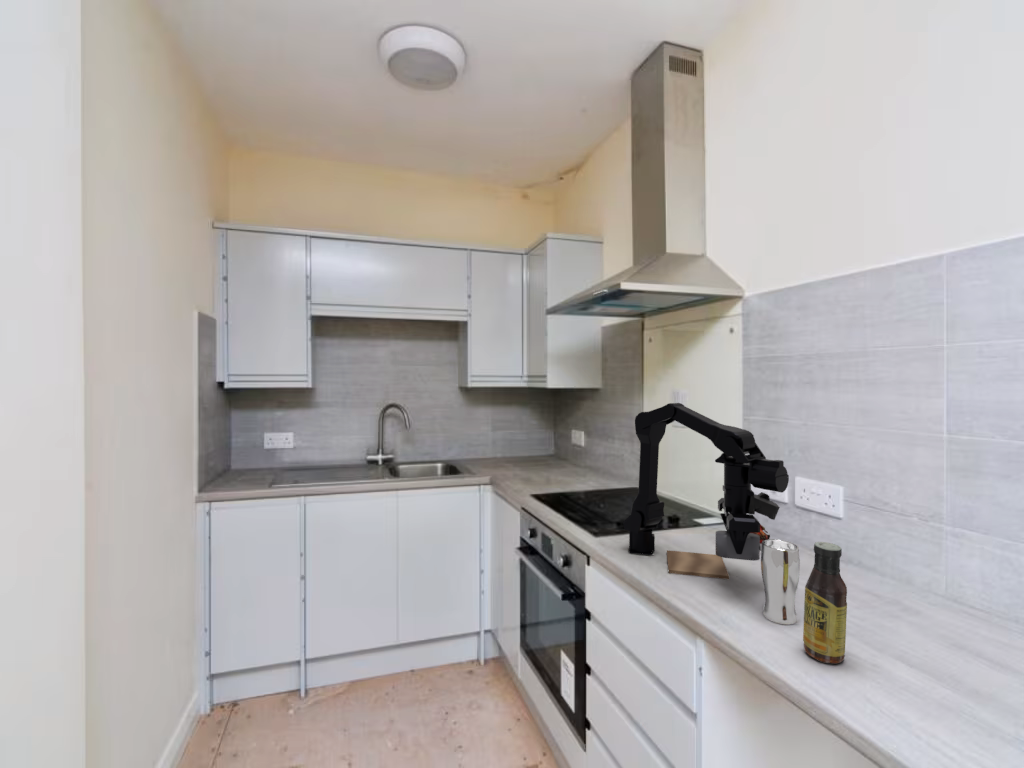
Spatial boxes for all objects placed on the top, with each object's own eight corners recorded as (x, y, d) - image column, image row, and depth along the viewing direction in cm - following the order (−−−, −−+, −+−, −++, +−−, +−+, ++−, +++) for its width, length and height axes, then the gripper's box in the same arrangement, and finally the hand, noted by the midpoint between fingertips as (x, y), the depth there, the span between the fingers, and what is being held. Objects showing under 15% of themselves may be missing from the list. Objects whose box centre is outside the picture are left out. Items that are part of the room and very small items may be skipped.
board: (668, 573, 120) (668, 569, 120) (666, 553, 133) (666, 550, 133) (729, 579, 116) (729, 576, 116) (720, 558, 130) (720, 555, 130)
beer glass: (795, 612, 100) (795, 540, 100) (803, 628, 93) (803, 552, 93) (758, 606, 102) (758, 537, 102) (763, 622, 96) (764, 548, 95)
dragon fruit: (738, 541, 147) (763, 561, 135) (719, 527, 146) (742, 546, 134) (756, 519, 147) (782, 538, 135) (736, 505, 145) (762, 522, 133)
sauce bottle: (795, 646, 87) (795, 538, 87) (827, 644, 88) (828, 537, 87) (821, 668, 81) (822, 551, 80) (855, 666, 81) (856, 550, 81)
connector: (716, 557, 111) (716, 535, 111) (714, 550, 115) (714, 529, 115) (773, 562, 108) (773, 540, 108) (768, 555, 112) (768, 534, 112)
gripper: (787, 495, 100) (786, 569, 101) (766, 477, 118) (765, 540, 119) (729, 492, 103) (729, 564, 104) (717, 475, 121) (717, 536, 122)
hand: (737, 550), depth 112 cm, fingers closed on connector, 4 cm apart
